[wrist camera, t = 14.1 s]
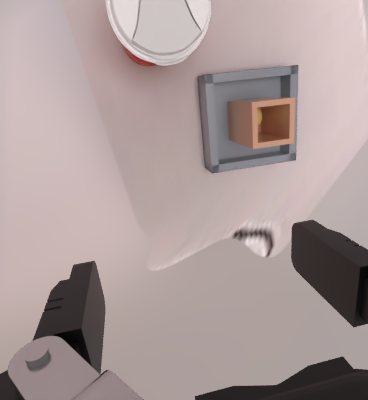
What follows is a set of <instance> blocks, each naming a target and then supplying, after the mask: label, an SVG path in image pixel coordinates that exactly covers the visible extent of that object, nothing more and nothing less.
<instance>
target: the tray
mask: <svg viewBox="0 0 368 400" xmlns="http://www.w3.org/2000/svg"><path fill="white" fill-rule="evenodd" d="M198 88H199V100H200V112H201V124H202V136H203V148H204V160H205V168H206V169H208V170H209V171H210V172H211V173H217V172H223V171H230V170H236V169H242V168H249V167H255V166H261V165H268V164H274V163H281V162H287V161H293V160H296V137H297V93H298V65H294V66H284V67H275V68H265V69H256V70H246V71H237V72H227V73H218V74H208V75H202V76H199V77H198ZM270 97H295V129H294V143H292V144H285V145H278V146H271V147H264V148H257V149H251V148H249V147H246V146H244V145H241V144H238V143H236V142H233V141H230V140H229V129H228V109H227V102H229V101H238V100H246V99H255V98H270Z"/></svg>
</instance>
